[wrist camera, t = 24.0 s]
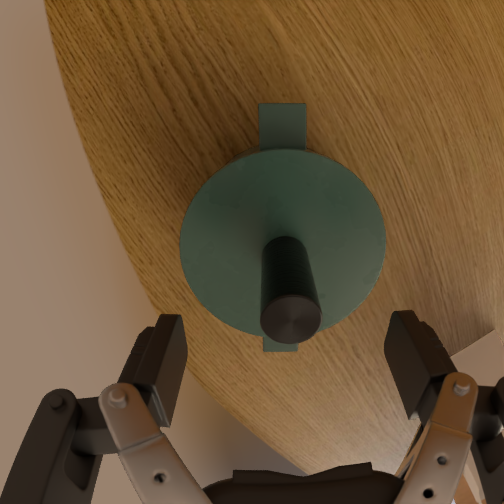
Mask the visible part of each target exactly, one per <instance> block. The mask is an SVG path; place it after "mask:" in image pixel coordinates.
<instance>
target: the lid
mask: <svg viewBox="0 0 504 504" xmlns="http://www.w3.org/2000/svg"><path fill="white" fill-rule="evenodd" d="M179 247H180V259H181V264H182V268H183V271H184V274H185V277H186V280H187V282H188V284H189V286H190V288H191V290H192V291H193V293H194V294H195V296H196V297H197V298H198V300H199V301H200V302H201V303H202V304H203V306H204V307H205V308H206V309H207V310H208V311H209V312H211V313H212V314H213V315H214V316H215V317H217V318H218V319H220V320H221V321H223V322H224V323H226V324H228V325H230V326H231V327H233V328H235V329H238V330H240V331H243V332H246V333H249V334H253V335H257V336H262V337H269V338H270V339H272V340H274V341H276V342H278V343H282V344H297V343H301V342H304V341H306V340H308V339H310V338H311V337H312V336H314V335H315V334H316V333H317V332H319V331H322V330H324V329H327V328H329V327H331V326H333V325H335V324H336V323H338V322H340V321H341V320H343V319H344V318H346V317H347V316H349V315H350V314H351V313H352V312H353V311H354V310H355V309H357V308H358V307H359V306H360V304H361V303H362V302H363V301H364V300H365V299H366V298H367V296H368V295H369V293H370V292H371V291H372V289H373V287H374V285H375V283H376V282H377V280H378V278H379V275H380V272H381V270H382V267H383V262H384V258H385V250H386V232H385V226H384V221H383V217H382V214H381V212H380V209H379V206H378V204H377V202H376V201H375V199H374V197H373V195H372V194H371V192H370V191H369V190H368V188H367V187H366V186H365V184H364V183H363V182H362V181H361V180H360V179H359V178H358V177H357V176H356V175H355V174H354V173H353V172H351V171H350V170H349V169H347V168H346V167H345V166H343V165H342V164H340V163H338V162H337V161H335V160H333V159H331V158H329V157H327V156H324V155H321V154H319V153H316V152H312V151H308V150H303V149H295V148H274V149H266V150H261V151H257V152H253V153H250V154H247V155H245V156H242V157H239V158H238V159H236V160H234V161H232V162H230V163H228V164H226V165H225V166H224V167H222V168H221V169H219V170H218V171H217V172H215V173H214V174H213V175H212V176H211V177H210V178H209V179H208V180H207V181H206V182H205V183H204V184H203V186H202V187H201V188H200V189H199V191H198V192H197V193H196V195H195V196H194V198H193V200H192V201H191V203H190V205H189V207H188V209H187V211H186V214H185V217H184V219H183V223H182V227H181V232H180V243H179Z"/></svg>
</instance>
